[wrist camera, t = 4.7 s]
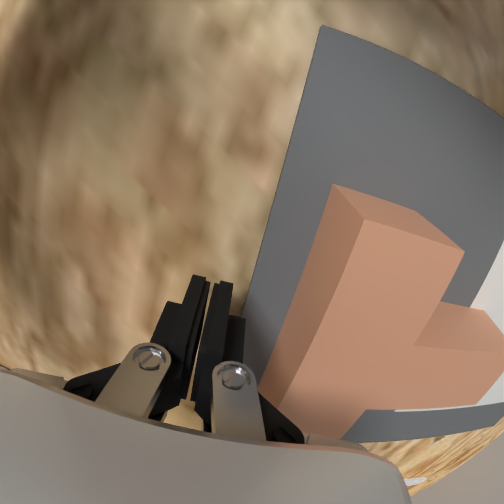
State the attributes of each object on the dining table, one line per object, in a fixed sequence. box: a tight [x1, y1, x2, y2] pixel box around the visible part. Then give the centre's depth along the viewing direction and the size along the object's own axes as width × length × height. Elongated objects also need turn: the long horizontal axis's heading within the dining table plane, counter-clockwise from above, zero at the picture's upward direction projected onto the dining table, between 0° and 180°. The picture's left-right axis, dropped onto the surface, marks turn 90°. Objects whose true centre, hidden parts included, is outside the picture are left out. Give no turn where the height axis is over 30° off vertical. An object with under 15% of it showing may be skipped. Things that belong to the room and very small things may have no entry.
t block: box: [257, 184, 504, 440], centre depth 13 cm, size 12×12×4 cm
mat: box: [241, 25, 504, 443], centre depth 15 cm, size 24×31×1 cm
